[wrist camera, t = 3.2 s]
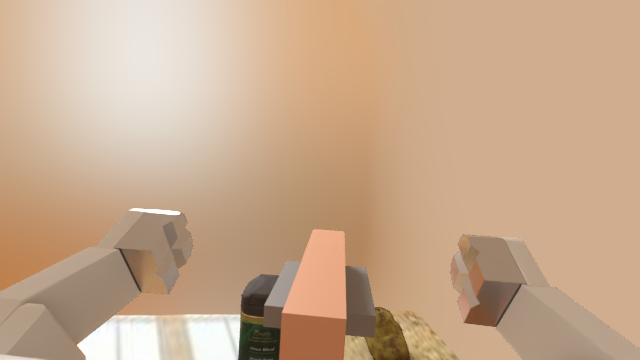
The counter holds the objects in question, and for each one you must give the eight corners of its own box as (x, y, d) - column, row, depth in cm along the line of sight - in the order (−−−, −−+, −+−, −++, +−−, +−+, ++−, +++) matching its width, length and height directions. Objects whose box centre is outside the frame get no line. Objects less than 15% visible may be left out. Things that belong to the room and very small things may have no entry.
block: (341, 380, 20) (346, 319, 20) (278, 373, 20) (281, 312, 20) (342, 261, 42) (344, 231, 42) (311, 258, 42) (313, 229, 42)
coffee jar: (282, 413, 49) (289, 296, 47) (230, 410, 49) (235, 292, 47) (288, 370, 59) (294, 271, 57) (245, 367, 59) (250, 269, 57)
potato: (365, 375, 59) (368, 333, 58) (358, 335, 72) (361, 300, 71) (411, 378, 59) (415, 337, 58) (396, 338, 71) (399, 303, 71)
